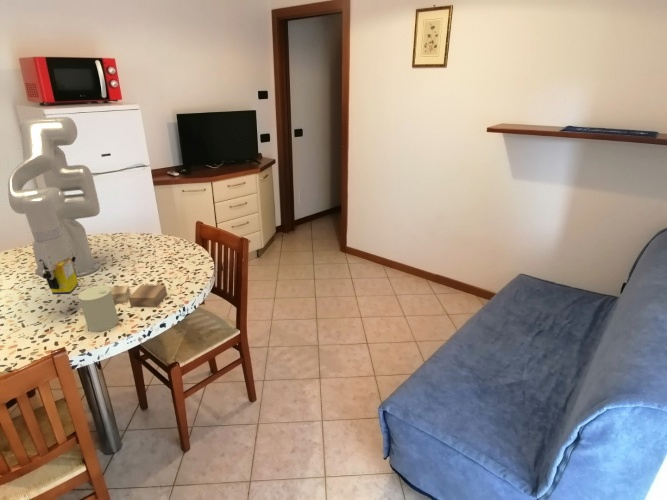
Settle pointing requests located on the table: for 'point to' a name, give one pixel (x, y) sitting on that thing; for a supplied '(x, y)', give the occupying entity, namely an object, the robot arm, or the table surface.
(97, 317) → the can
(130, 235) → the table surface
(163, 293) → the base brick
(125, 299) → the oak brick
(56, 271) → the supplement box
